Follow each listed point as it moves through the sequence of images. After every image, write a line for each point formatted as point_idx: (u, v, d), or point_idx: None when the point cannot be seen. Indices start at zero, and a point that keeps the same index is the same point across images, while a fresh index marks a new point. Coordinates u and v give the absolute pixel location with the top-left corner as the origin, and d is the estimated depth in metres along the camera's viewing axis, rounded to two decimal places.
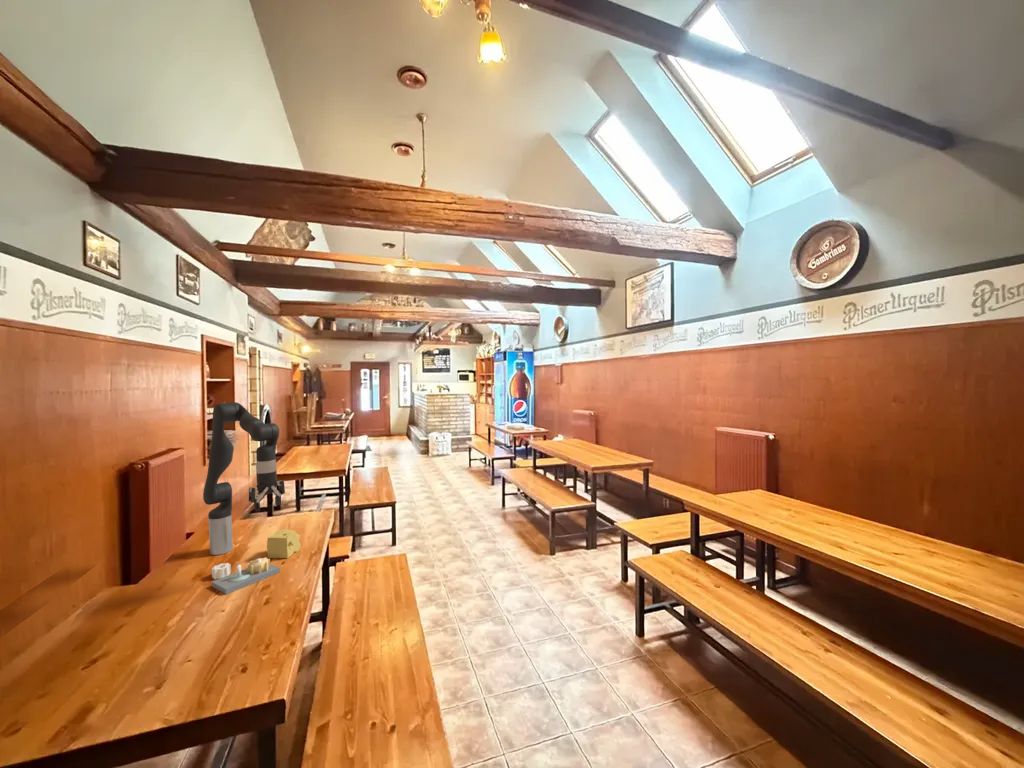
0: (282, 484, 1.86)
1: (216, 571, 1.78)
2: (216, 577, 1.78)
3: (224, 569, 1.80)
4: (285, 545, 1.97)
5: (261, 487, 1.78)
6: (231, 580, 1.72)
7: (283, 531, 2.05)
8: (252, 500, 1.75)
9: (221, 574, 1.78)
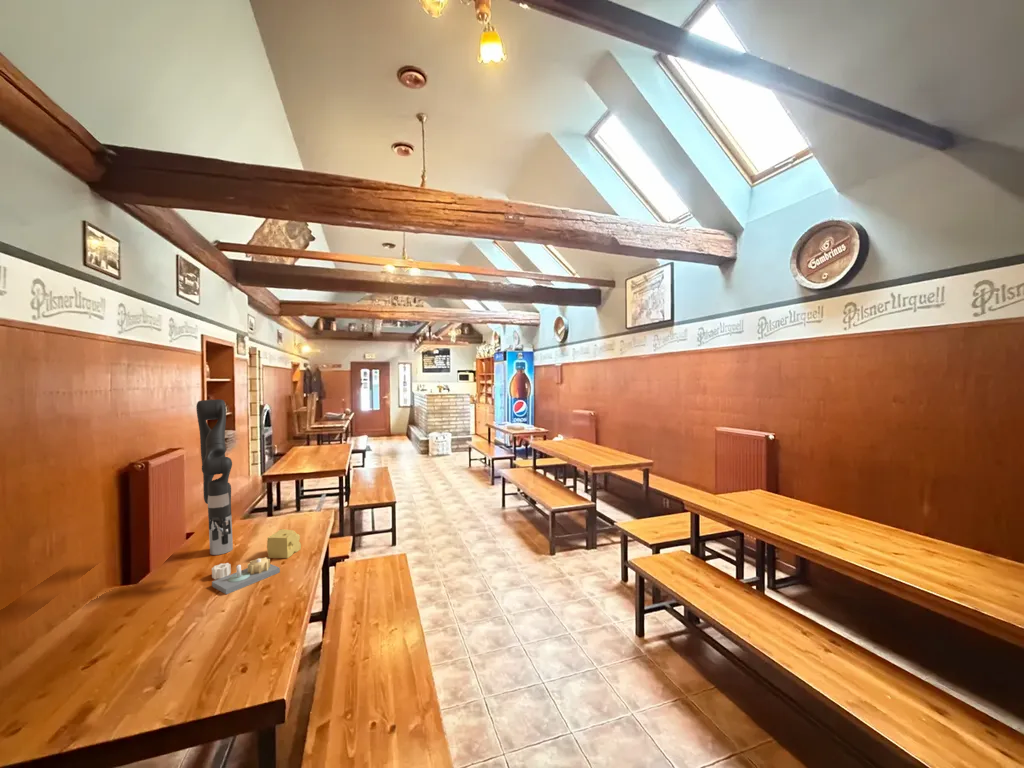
0: None
1: (216, 571, 1.78)
2: (216, 577, 1.78)
3: (224, 569, 1.80)
4: (285, 545, 1.97)
5: None
6: (231, 580, 1.72)
7: (283, 531, 2.05)
8: (230, 531, 1.78)
9: (221, 574, 1.78)
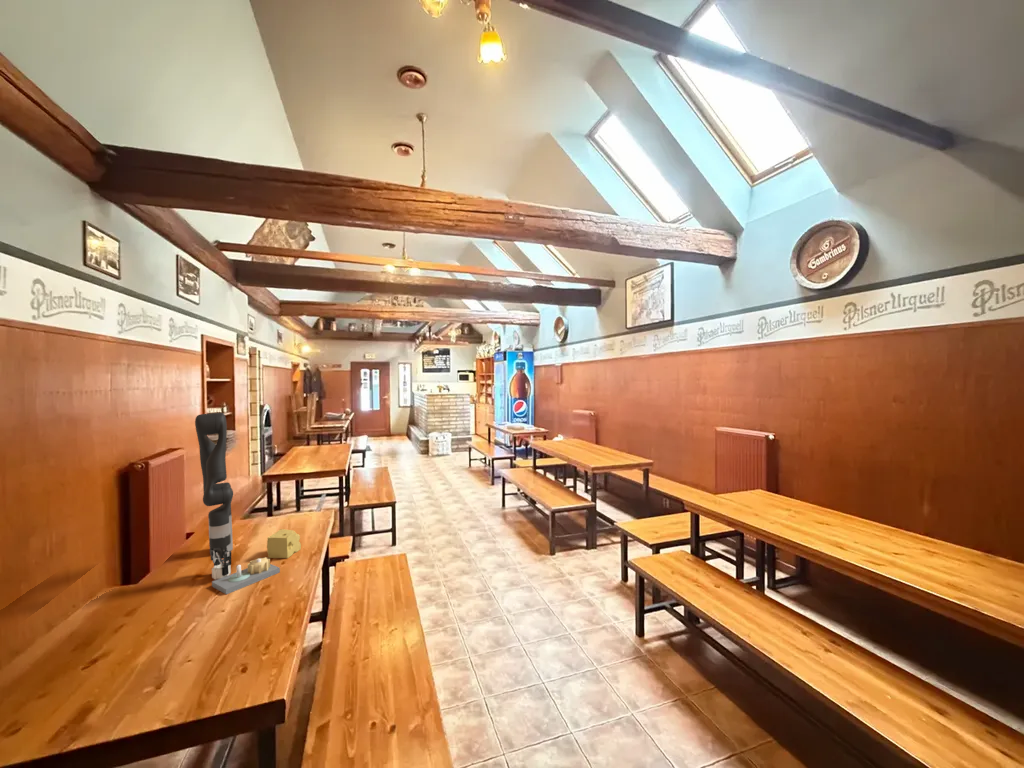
0: None
1: (216, 571, 1.78)
2: (216, 577, 1.78)
3: None
4: (285, 545, 1.97)
5: None
6: (231, 580, 1.72)
7: (283, 531, 2.05)
8: (230, 562, 1.79)
9: (221, 574, 1.78)
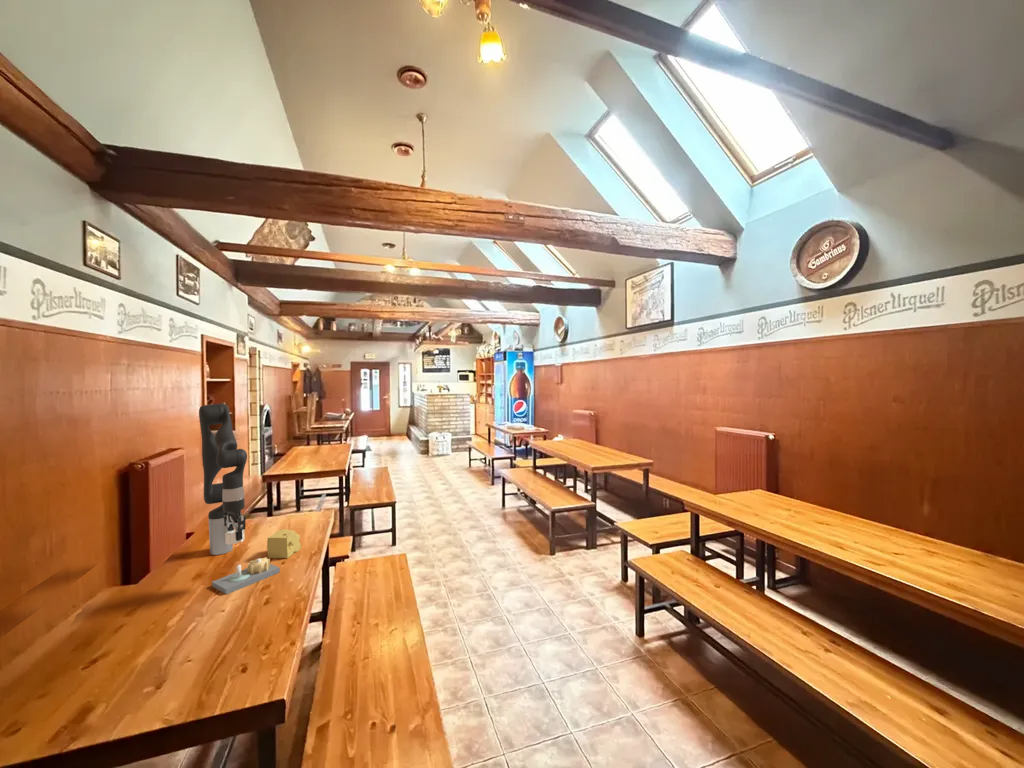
0: None
1: (230, 536, 1.71)
2: (230, 542, 1.71)
3: None
4: (285, 545, 1.97)
5: None
6: (231, 580, 1.72)
7: (283, 531, 2.05)
8: (244, 527, 1.72)
9: (235, 539, 1.72)
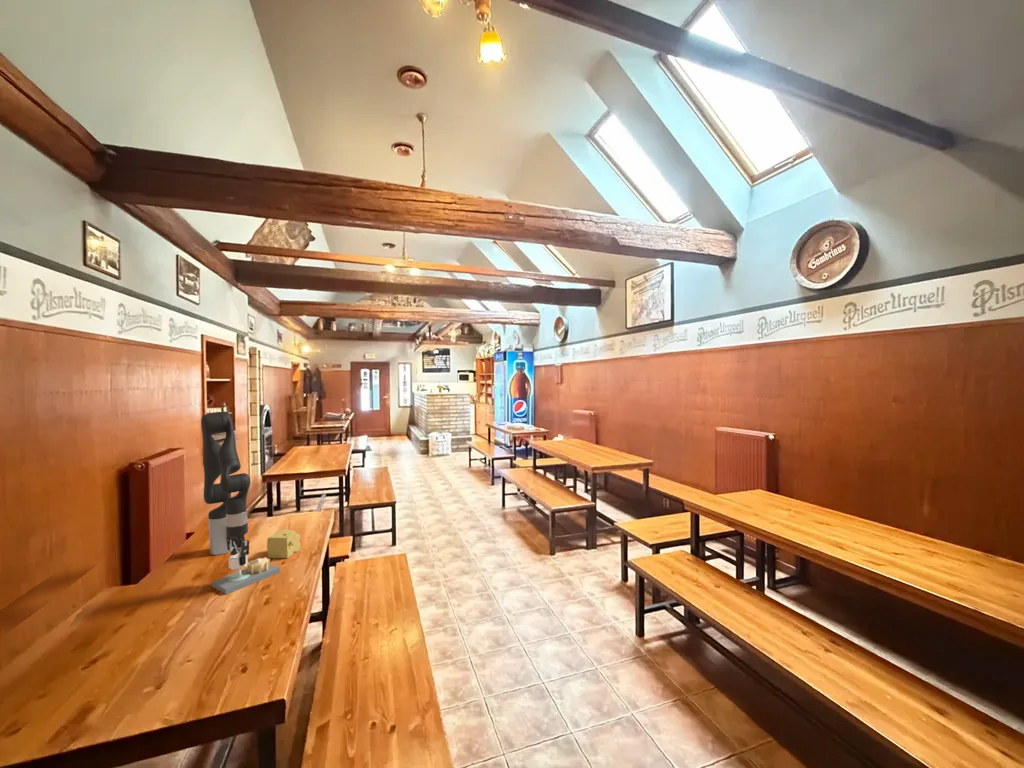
0: None
1: (233, 561, 1.72)
2: (233, 567, 1.72)
3: None
4: (285, 545, 1.97)
5: None
6: (231, 580, 1.72)
7: (283, 531, 2.05)
8: (248, 552, 1.72)
9: (238, 564, 1.72)
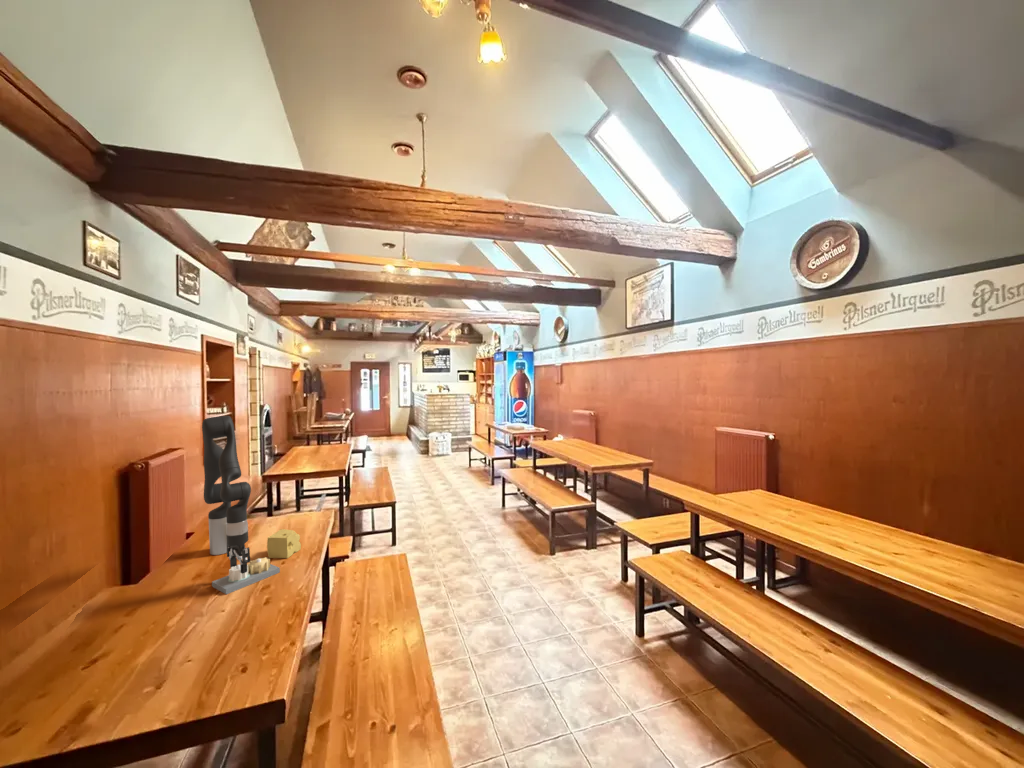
0: None
1: (234, 572, 1.72)
2: (234, 579, 1.72)
3: None
4: (285, 545, 1.97)
5: None
6: (231, 580, 1.72)
7: (283, 531, 2.05)
8: (249, 560, 1.72)
9: (239, 575, 1.72)
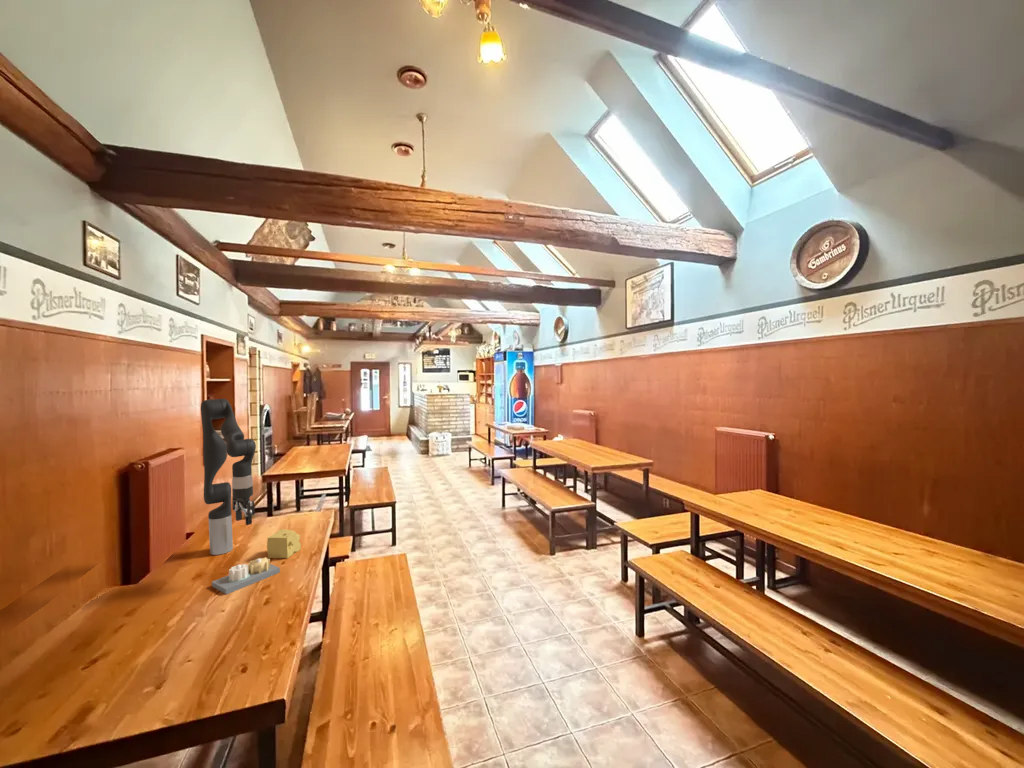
0: None
1: (234, 572, 1.72)
2: (234, 579, 1.72)
3: (242, 570, 1.74)
4: (285, 545, 1.97)
5: None
6: (231, 580, 1.72)
7: (283, 531, 2.05)
8: (254, 512, 1.80)
9: (239, 575, 1.72)
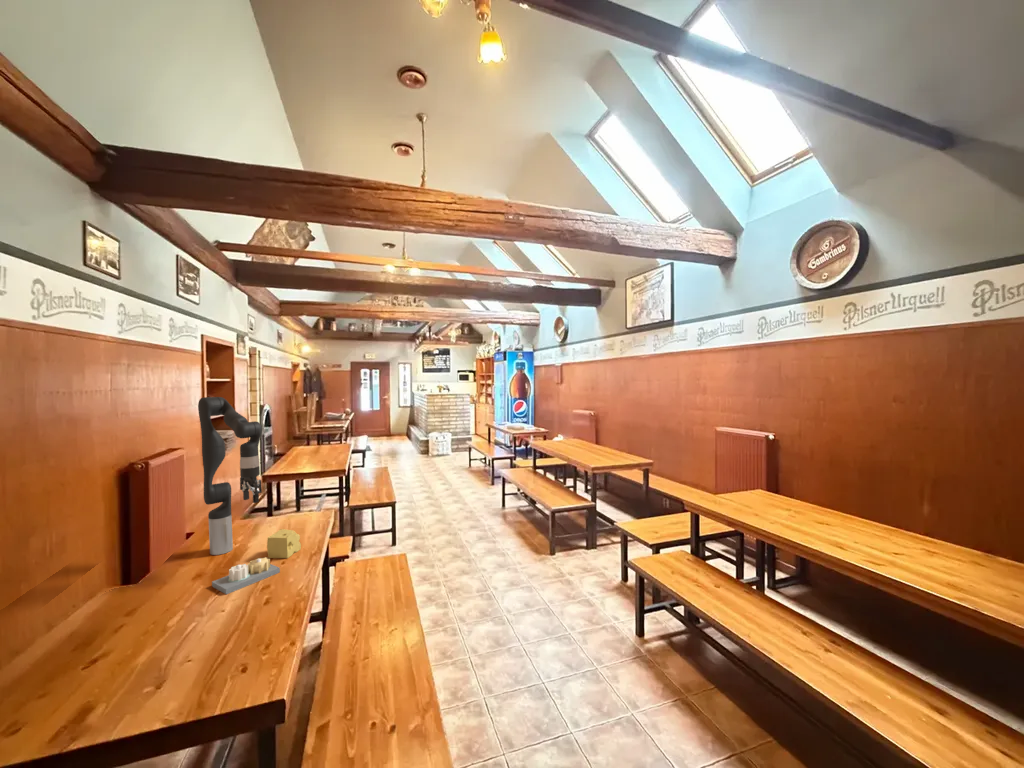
0: None
1: (234, 572, 1.72)
2: (234, 579, 1.72)
3: (242, 570, 1.74)
4: (285, 545, 1.97)
5: None
6: (231, 580, 1.72)
7: (283, 531, 2.05)
8: (261, 491, 1.90)
9: (239, 575, 1.72)
